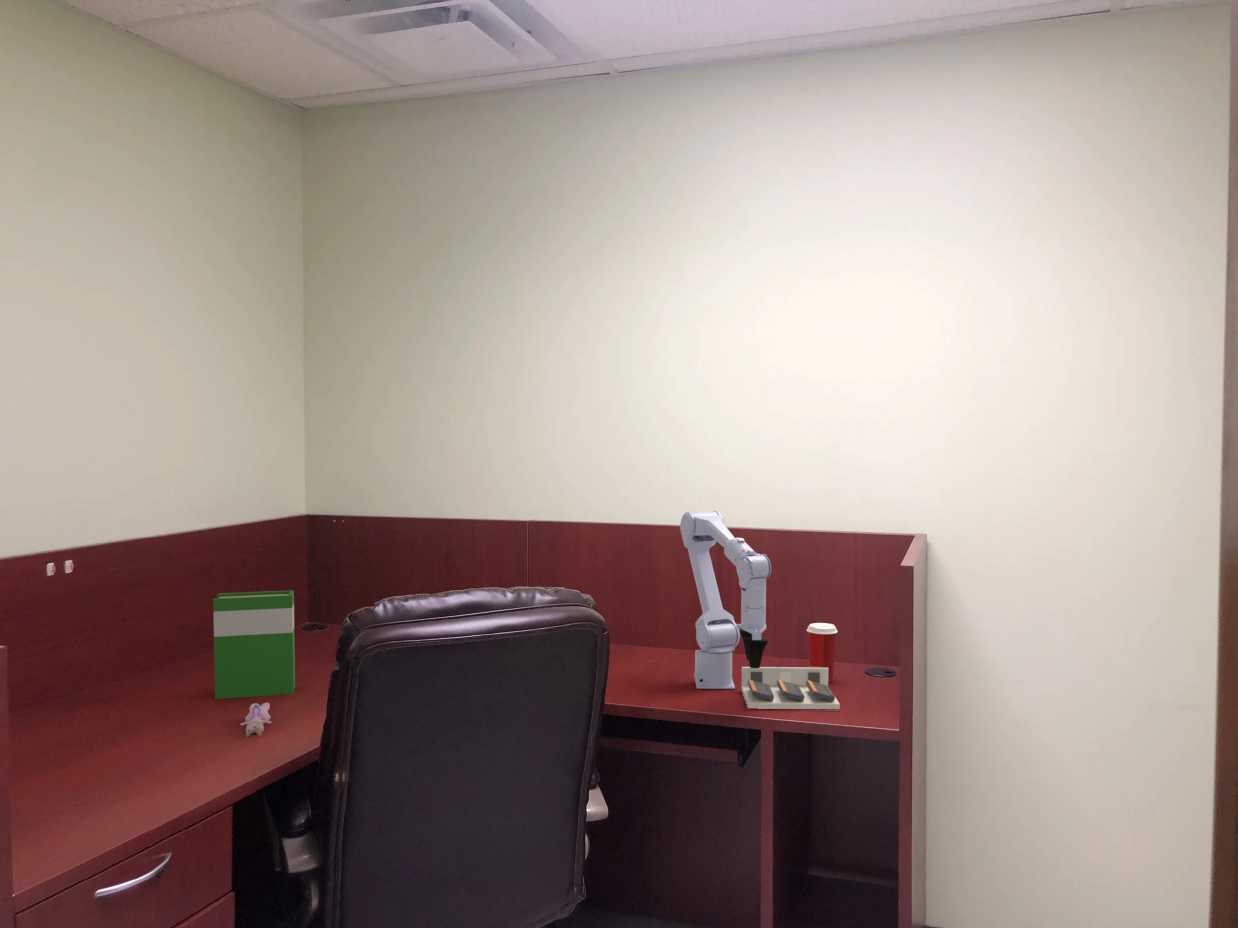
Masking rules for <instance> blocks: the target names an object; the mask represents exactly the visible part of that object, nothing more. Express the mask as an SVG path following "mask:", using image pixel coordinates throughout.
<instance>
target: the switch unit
mask: <svg viewBox="0 0 1238 928" xmlns="http://www.w3.org/2000/svg"><path fill="white" fill-rule="evenodd" d="M748 679H749V680H753V681H757V682H760V683H764V684H767V685H769V686H770V688H771V691H772V693H773V695H774V699H773V701H771V700H768V699H764V698H760V697H757V696H753V695H752V694H751V692H750V689H749V686H748V684H747V683H748ZM777 680H781V681H785V682H788V683H792V684H796V685H798V686H799V688H800V689H801V691H802V693H803V695H804V700H803V701H801V700H797V699H793V698H790V697H786V696H782V694H781V692H780V690H779V688H778V686H777V684H776V683H777ZM807 680H809V681H813V682H816V683H820V684H824V685H827V686H828V687H829V682H828V668H810V666H808V667H798V666H794V667H790V666H788V667H787V666H782V667H781V666H779V667H778V666H770V667H769V666H760V668H750V666H741V693H743V694H742V696H743V699H744V701H746V702H745V704H747V705H746V707H748V708H758V709H840V710H841V704H840V702H839V701H838V699H837V697H835V699H834V701H830V700H826V699H823V698H819V697H815V696H813V695H812V694H811V692H810V690H809V689H808V687H807V685H806V681H807ZM748 708H747V709H748Z"/></svg>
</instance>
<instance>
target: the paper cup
mask: <svg viewBox="0 0 1238 928" xmlns="http://www.w3.org/2000/svg"><path fill="white" fill-rule="evenodd" d="M806 632H807V633H808V635H807V636H808V654H809V655H808V657H809V667H810V668H828V681H829V680H832V679H833V680H834V671H835V670H834V669H835V655H836V642H837V633H838V629H837V628H836V625H835V624H833V623H825V622H814V623H810V624H809V625H808V626H807V628H806Z"/></svg>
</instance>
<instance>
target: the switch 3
mask: <svg viewBox="0 0 1238 928" xmlns="http://www.w3.org/2000/svg"><path fill="white" fill-rule="evenodd" d="M806 685H807V687H808V689H809V690H810V692H811V694H812V695H813V696H815V697H819V698H823V699H826V700H830V701H834V699H835V698H836V696H835V695H834V693H833V692H832V691H831V689H830V687H829V685H828V686H827V685H824V684H820V683H816V682H813V681H809V680H807V681H806Z"/></svg>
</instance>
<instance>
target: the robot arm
mask: <svg viewBox="0 0 1238 928" xmlns="http://www.w3.org/2000/svg"><path fill="white" fill-rule="evenodd" d="M679 529H680V534H681V538H682V541H683V547H685V548H686V549H687V552H688V556H689V557H688V558H689V560H690V565H691V569H692V573H693V577H694V582H695V585H696V589H697V594H698V599H699V603H700V606H701V611H702V614H701V615H700V616H699V618H697V620H696V622H695V624H694V625H695V631H696V633H695V640H696V644H697V645H698V647H699V648H700V649H696V650H695V653H694V654H695V655H694V659H695V660H694V661H695V662H694V673H693V678H694V679H693V680H694V683H695V687H696V689H698V690H699V689H702V690H703V689H705V690H706V689H710V690H711V689H712V690H719V689H720V690H734V689H736V686H735V683H734V681H733V680H734V679H733V652H734V651H735V650H736V647H737V646H738V645H739V642H740V639H741V637H742V642H743V645H744V646H743V647H744V651H745V658H746V660H747V661H748V662H749V663H748V664H749V667H750V668H760V667H761V665H762V659H763V653H764V651H765V648H766V646H767V644H768V642H769V640H768V638H762V635H763V633H764V632H765V631H766V630H767V623H766V622H767V620H766V619H767V618H766V617H767V615H766V614H767V613H766V612H767V611H766V610H767V609H766V608H767V579H769V578H770V576H771V574H772V564H771V560H770V559H769V558H768V556H767V554H765V553H763V554H762V553H757V552H756V551H755V550H754V549H753V548H752V547H751V546H750V545H749V544H748V543H747V542H746V541H745V539H744V538H743V537H735V536H734V535H733V534H732V532H731V531H730V530H729V529H728V527H727V526H726V525H725V519H724V516H723V515H722V514H721V512H719V511H718V510H713V511H701V512H700V511H699V512H697V511H695V512H689V511H687V512H685V513H683V515H682V516H681V519H680V524H679ZM716 543H718V544H719V545H720V546H722V547H723V548H724V549H723V552H724V555H725V557H726V558H727V559H728V560H729V561H730V562H731V564H733V566H735V567H736V573H737V577H738V580H739V581H738V584H739V587H740V588H741V601H740V602H741V603H740V604H741V607H740V608H741V609H740V620H741V621H740V623H736V622H735V618H734V616H733V614H731V613H730V612H729V611H727V610H725V609H724V608H723V603H722V599H721V596H720V595H721V594H720V591H719V588H718V587H719V586H718V584H717V582H718V581H717V580H716V579H717V578H716V575H715V571H714V567H713V562H712V558H711V554H710V548H712V547H713V546H715V545H716Z"/></svg>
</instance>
